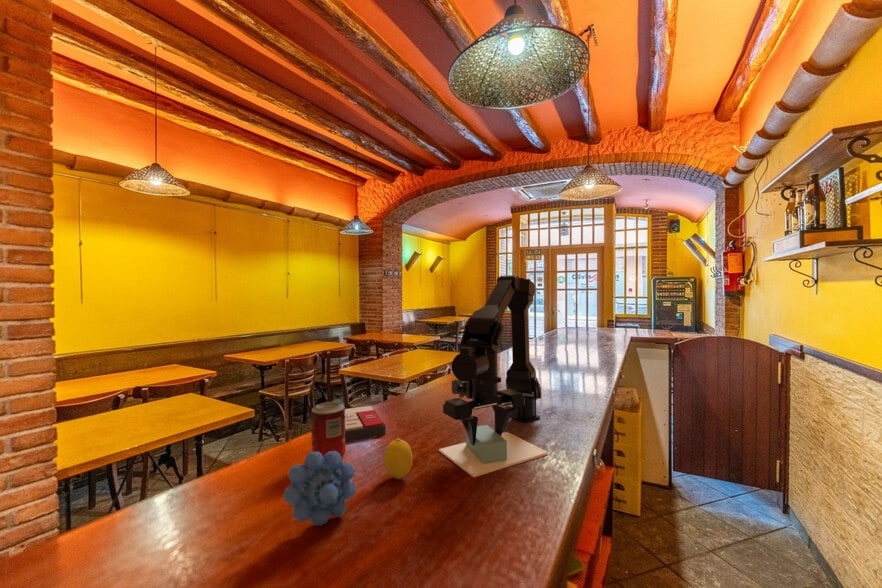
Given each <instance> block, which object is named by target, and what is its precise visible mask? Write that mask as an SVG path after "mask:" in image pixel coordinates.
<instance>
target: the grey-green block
mask: <svg viewBox="0 0 882 588" xmlns="http://www.w3.org/2000/svg"><path fill="white" fill-rule="evenodd" d="M465 442H466V445H467V447H468V448H469V449H470V450H471V451H472V452H473V453H474V454H475V455H476V456H477V457H478V458H479V459H480V461H481V462H482V463H489V462H495V461H501V460H507V441H506V440H505V439H504V438H503V437H501V436H500V435H499V434H498V433H496V432H495V429H493V428H492V427H490V426H489V425H488V424H486V425H477V432H476V441H475V445H471V444H470V441H469V438H468V436H467V433H466V432H465Z"/></svg>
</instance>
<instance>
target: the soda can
mask: <svg viewBox="0 0 882 588" xmlns="http://www.w3.org/2000/svg"><path fill="white" fill-rule="evenodd" d="M345 409H346V407H345V405H344V404H342V403H340V402H338V401H337V402H336V401H326V402H322V403H318V404H316V405H315V406H313V407H312V409H311V411H310V420H311V421H310V422H311V423H310V424H311V427H310V428H311V432H310V433H311V452H313V451H316V452H319V453H321V454H322V456H323V458H324V456H325V455H326V453H328V452H329V451H336V452H338V453H339V454H340V456H341V458H342V459H343V458H344V456H345V455H346V442H345Z"/></svg>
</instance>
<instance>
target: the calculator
mask: <svg viewBox="0 0 882 588" xmlns="http://www.w3.org/2000/svg"><path fill="white" fill-rule="evenodd" d="M381 435H383V436H386V424H385V422H384V421H383V420H382V418H381V417H380V415H379V414H378V412H377V411H376V410H375V409H374V407H373V406H372V405H366V406H360V407H359V406H358V407H350V408H345V443H346V442H352V441H353V442H354V441H359V440H364V438H366V439H370V438H369V437H371V438H375V437H374V436H377V437H382V436H381Z"/></svg>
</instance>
